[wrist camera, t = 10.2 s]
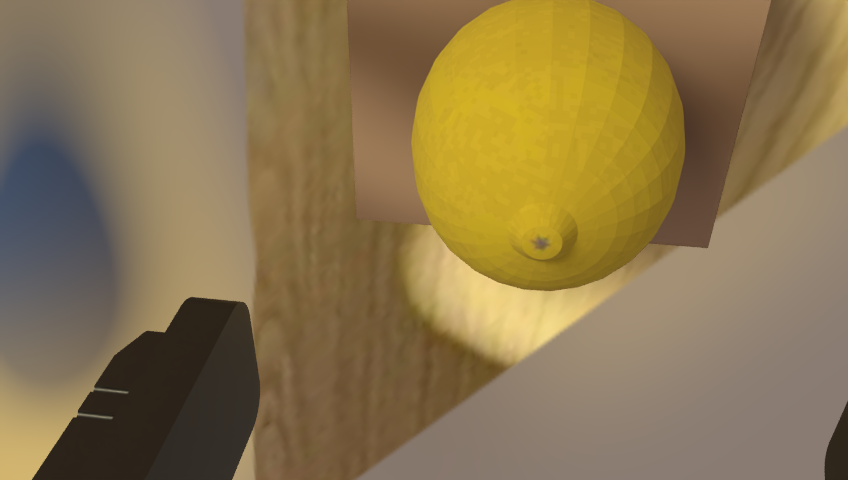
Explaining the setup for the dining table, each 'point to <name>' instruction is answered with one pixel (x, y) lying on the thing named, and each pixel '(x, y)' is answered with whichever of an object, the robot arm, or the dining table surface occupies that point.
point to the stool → (461, 3)
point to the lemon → (548, 143)
